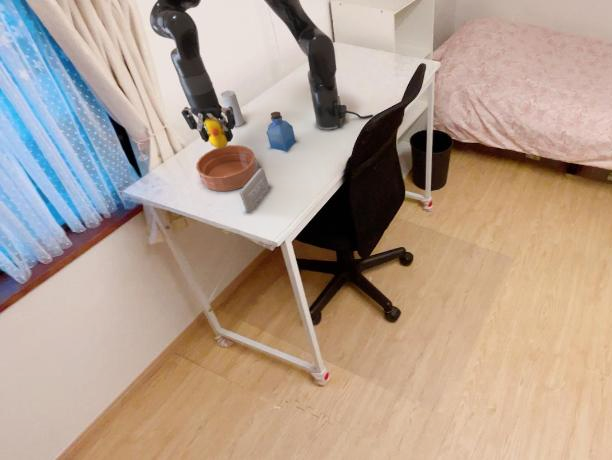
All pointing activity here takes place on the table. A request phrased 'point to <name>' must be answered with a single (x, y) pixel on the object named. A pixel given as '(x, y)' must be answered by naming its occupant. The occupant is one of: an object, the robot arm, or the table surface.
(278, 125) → the perfume bottle
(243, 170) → the bowl
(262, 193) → the cassette
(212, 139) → the duckling
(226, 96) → the beverage can
